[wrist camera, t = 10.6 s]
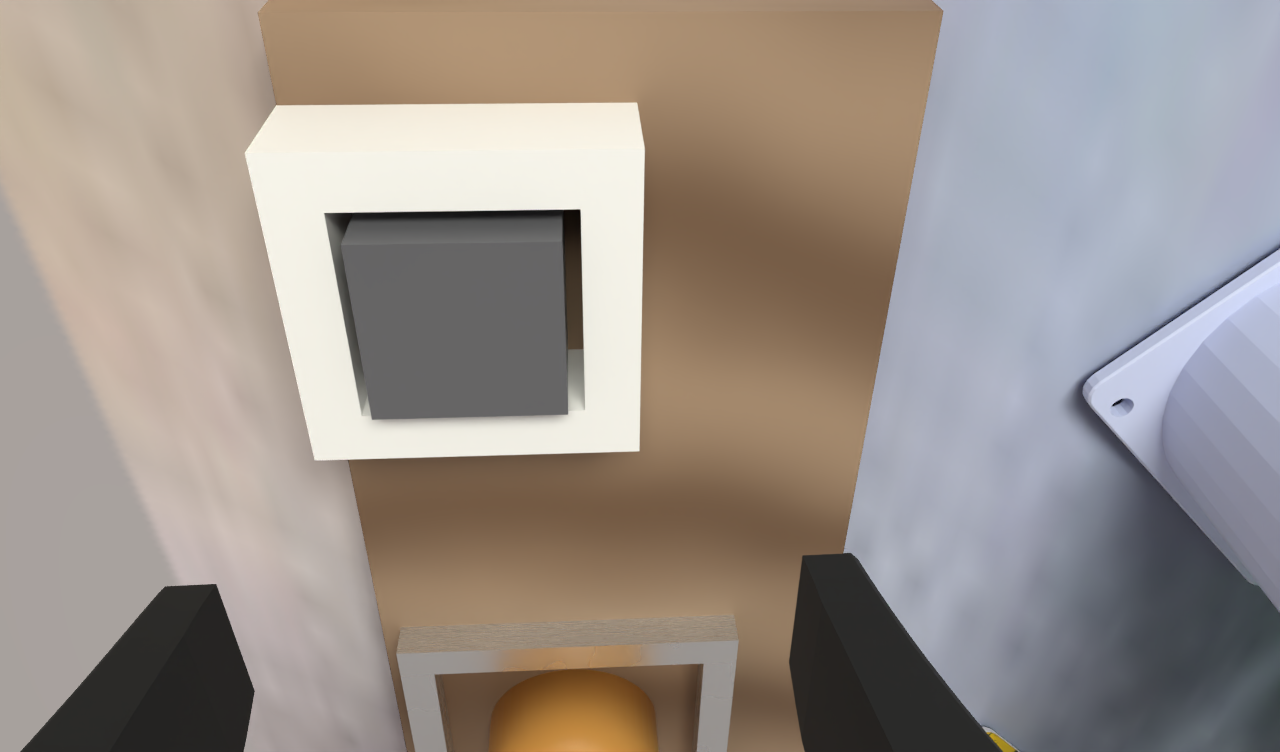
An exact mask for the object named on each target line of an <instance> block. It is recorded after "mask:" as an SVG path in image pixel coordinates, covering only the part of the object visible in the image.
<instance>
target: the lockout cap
mask: <svg viewBox="0 0 1280 752" xmlns="http://www.w3.org/2000/svg"><path fill="white" fill-rule="evenodd" d="M488 752H659V749H658V737H657V725H656V714H655V709H654V706H653V704H652V702H651V700H650V699H649V697H648V696H647V695H646V693H645V692H643V691H642V690H641V689H640V688H639V687H638V686H636V685H635V684H633V683H632V682H630V681H628V680H626V679H624V678H621V677H619V676H616V675H613V674H610V673H606V672H601V671H595V670H585V669H569V670H559V671H553V672H548V673H544V674H540V675H537V676H534V677H531V678H529V679H527V680H525V681H522V682H520V683H519V684H517V685H515V686H514V687H512V688H511V689H510V690H508V691H507V692H506V693H505V694H504V695H503V696H502V697H501V698H500V699H499V701H498V702H497V704H496V705H495V707H494V709H493V712H492V715H491V722H490V736H489V749H488Z"/></svg>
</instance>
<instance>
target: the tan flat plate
mask: <svg viewBox="0 0 1280 752" xmlns="http://www.w3.org/2000/svg"><path fill="white" fill-rule="evenodd" d="M942 15H943V10H942V9H941V8H940V7H939V6H937V5H936V4H935V3H934V2H933V1H932V0H269V1H268V2H267V3H266V4H265V5H264V6H263V7H262V8H261V10H260V11H259V12H258V16H259V21H260V26H261V31H262V36H263V41H264V46H265V51H266V56H267V61H268V66H269V71H270V76H271V81H272V86H273V91H274V95H275V100H276V105H390V104H515V103H637V105H638V111H639V117H640V123H641V129H642V135H643V141H644V147H645V164H644V220H643V277H642V333H641V390H640V446H639V451H634V452H599V453H563V454H528V455H493V456H457V457H422V458H387V459H351V460H348V461H349V466H350V471H351V476H352V481H353V486H354V491H355V496H356V501H357V506H358V511H359V516H360V521H361V526H362V531H363V536H364V541H365V546H366V550H367V555H368V560H369V565H370V570H371V575H372V580H373V585H374V590H375V595H376V600H377V605H378V610H379V615H380V620H381V625H382V630H383V635H384V639H385V644H386V649H387V654H388V659H389V664H390V669H391V674H392V679H393V684H394V689H395V694H396V699H397V704H398V709H399V714H400V719H401V724H402V729H403V733H404V738H405V743H406V748H407V752H415V748H414V742H413V737H412V732H411V727H410V722H409V717H408V711H407V706H406V701H405V696H404V691H403V686H402V681H401V675H400V670H399V665H398V660H397V655H396V653H397V647H398V641H399V635H400V630H401V627H422V626H449V625H475V624H501V623H527V622H554V621H580V620H606V619H633V618H659V617H685V616H712V615H734V617H735V623H736V628H737V634H738V640H739V642H738V651H737V660H736V670H735V679H734V688H733V698H732V707H731V716H730V726H729V735H728V744H727V752H805V751H804V747H803V743H802V739H801V733H800V728H799V722H798V716H797V710H796V704H795V698H794V692H793V685H792V679H791V673H790V666H789V657H790V649H791V642H792V634H793V626H794V618H795V610H796V602H797V594H798V587H799V579H800V571H801V563H802V555H822V554H843V551H844V546H845V540H846V535H847V530H848V524H849V519H850V513H851V508H852V502H853V497H854V492H855V486H856V481H857V475H858V470H859V465H860V459H861V454H862V448H863V443H864V438H865V432H866V427H867V421H868V416H869V410H870V405H871V400H872V394H873V389H874V383H875V378H876V373H877V367H878V362H879V356H880V351H881V346H882V340H883V335H884V329H885V324H886V318H887V313H888V308H889V302H890V297H891V291H892V286H893V281H894V275H895V270H896V264H897V259H898V253H899V248H900V243H901V237H902V232H903V226H904V221H905V216H906V210H907V205H908V199H909V194H910V189H911V183H912V178H913V172H914V167H915V161H916V156H917V151H918V145H919V140H920V134H921V129H922V124H923V118H924V113H925V107H926V102H927V96H928V91H929V86H930V80H931V75H932V69H933V64H934V59H935V53H936V48H937V42H938V37H939V32H940V26H941V21H942ZM564 236H565V266H566V296H567V326H568V349H584V347H583V303H582V258H581V214H580V209H567V210H564ZM581 669H585V670H595V671H601V672H606V673H610V674H613V675H616V676H619V677H621V678H624V679H626V680H628V681H630V682H632V683H633V684H635V685H636V686H638V687H639V688H640V689H641V690H642V691H643V692H645V693H646V695H647V696H648V697H649V699H650V700H651V702H652V704H653V706H654V709H655V714H656V725H657V737H658V749H659V752H692V741H693V727H694V714H695V700H696V687H697V673H698V664H679V665H655V666H630V667H606V668H581ZM559 670H569V669H557V670H532V671H507V672H483V673H458V674H442V678H443V684H444V691H445V697H446V703H447V710H448V716H449V723H450V729H451V735H452V742H453V748H454V752H488V749H489V736H490V722H491V715H492V712H493V709H494V707H495V705H496V704H497V702H498V701H499V699H500V698H501V697H502V696H503V695H504V694H505V693H506V692H507V691H508V690H510V689H511V688H512V687H514V686H515V685H517V684H519V683H520V682H522V681H525V680H527V679H529V678H531V677H534V676H537V675H540V674H544V673H548V672H553V671H559Z"/></svg>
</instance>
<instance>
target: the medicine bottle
mask: <svg viewBox="0 0 1280 752" xmlns="http://www.w3.org/2000/svg"><path fill="white" fill-rule="evenodd" d="M982 728H983V729H984V730H985V731H986V733H987V734H988V735H989V736H990V737H991V738H992V739H993V741H994V742H995V743H996V744H997V745H998V746H999V747H1000V749H1001V750H1002V751H1003V752H1020V751H1019V750H1018V749H1017V748H1015V747H1014V746H1013V745H1011V744H1010V743H1009V742H1008V741H1006V740H1005V739H1004V738H1002V737H1001V736H1000V735H999V734H997V733H996V732H995V731H993V730H992V729H990V728H987V727H982Z"/></svg>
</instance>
